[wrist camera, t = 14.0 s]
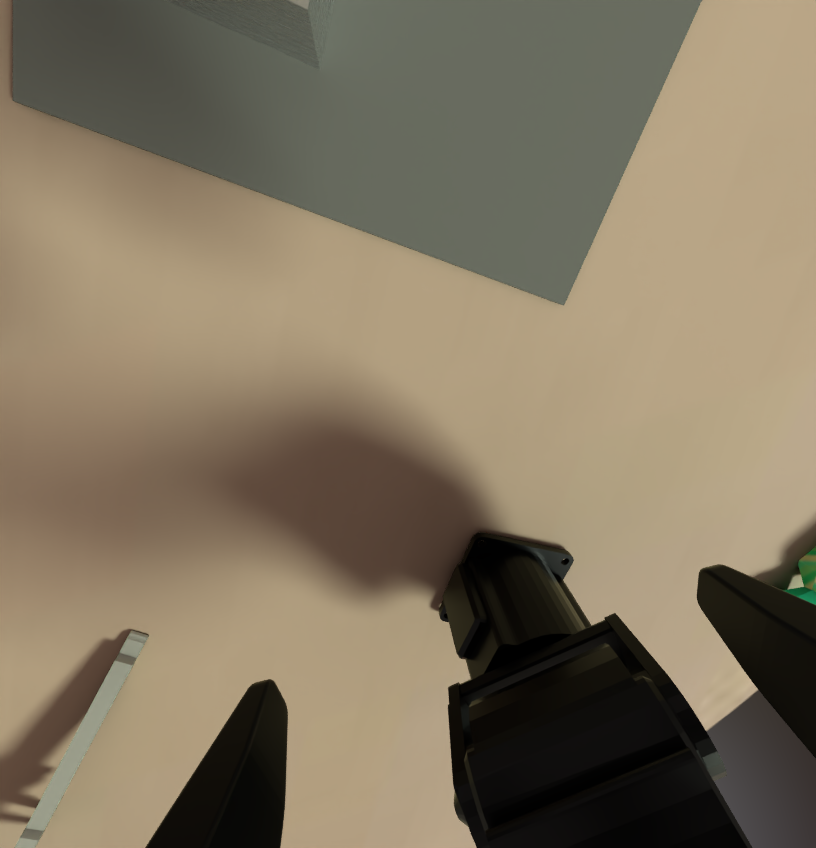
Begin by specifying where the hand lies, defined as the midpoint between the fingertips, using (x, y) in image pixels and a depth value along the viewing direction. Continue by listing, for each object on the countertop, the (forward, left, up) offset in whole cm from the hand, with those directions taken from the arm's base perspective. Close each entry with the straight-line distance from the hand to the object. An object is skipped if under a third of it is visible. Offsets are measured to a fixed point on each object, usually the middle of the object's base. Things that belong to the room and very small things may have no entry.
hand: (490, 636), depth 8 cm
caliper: (+13, +27, -14) cm, 33 cm away
